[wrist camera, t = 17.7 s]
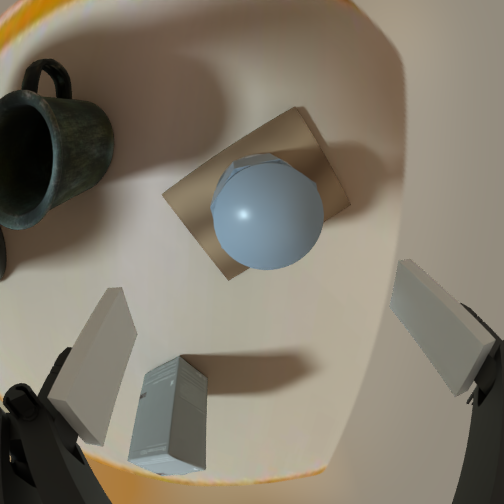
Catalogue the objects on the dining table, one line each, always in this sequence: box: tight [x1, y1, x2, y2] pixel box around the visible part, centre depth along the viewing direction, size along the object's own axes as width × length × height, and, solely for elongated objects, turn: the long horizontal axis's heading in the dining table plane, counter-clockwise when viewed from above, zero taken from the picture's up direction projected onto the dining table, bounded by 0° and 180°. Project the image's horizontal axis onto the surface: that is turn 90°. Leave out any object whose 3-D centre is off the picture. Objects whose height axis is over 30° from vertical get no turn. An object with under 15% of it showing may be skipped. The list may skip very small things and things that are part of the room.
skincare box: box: [127, 356, 208, 476], centre depth 33 cm, size 8×7×16 cm
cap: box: [210, 153, 324, 270], centre depth 25 cm, size 8×8×7 cm
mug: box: [0, 59, 114, 230], centre depth 20 cm, size 11×15×12 cm
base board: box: [162, 107, 351, 281], centre depth 29 cm, size 12×16×1 cm
